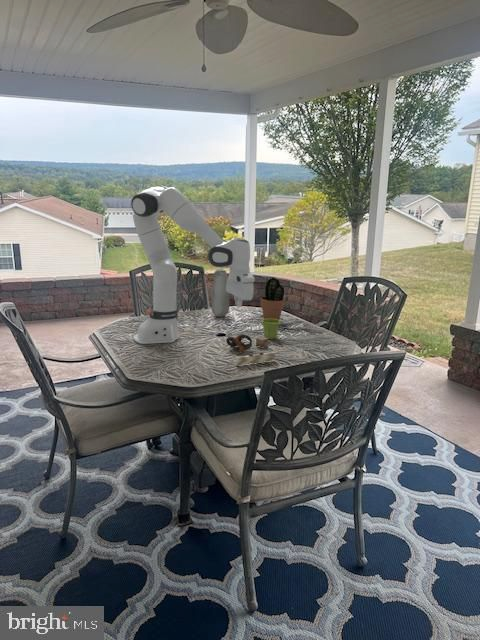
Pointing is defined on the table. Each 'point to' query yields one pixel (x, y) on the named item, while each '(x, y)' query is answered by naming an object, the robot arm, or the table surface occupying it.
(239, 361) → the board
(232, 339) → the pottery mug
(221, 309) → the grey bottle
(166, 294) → the robot arm
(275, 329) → the plant pot
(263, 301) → the potted plant
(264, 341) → the walnut block
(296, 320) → the table surface
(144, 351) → the table surface
